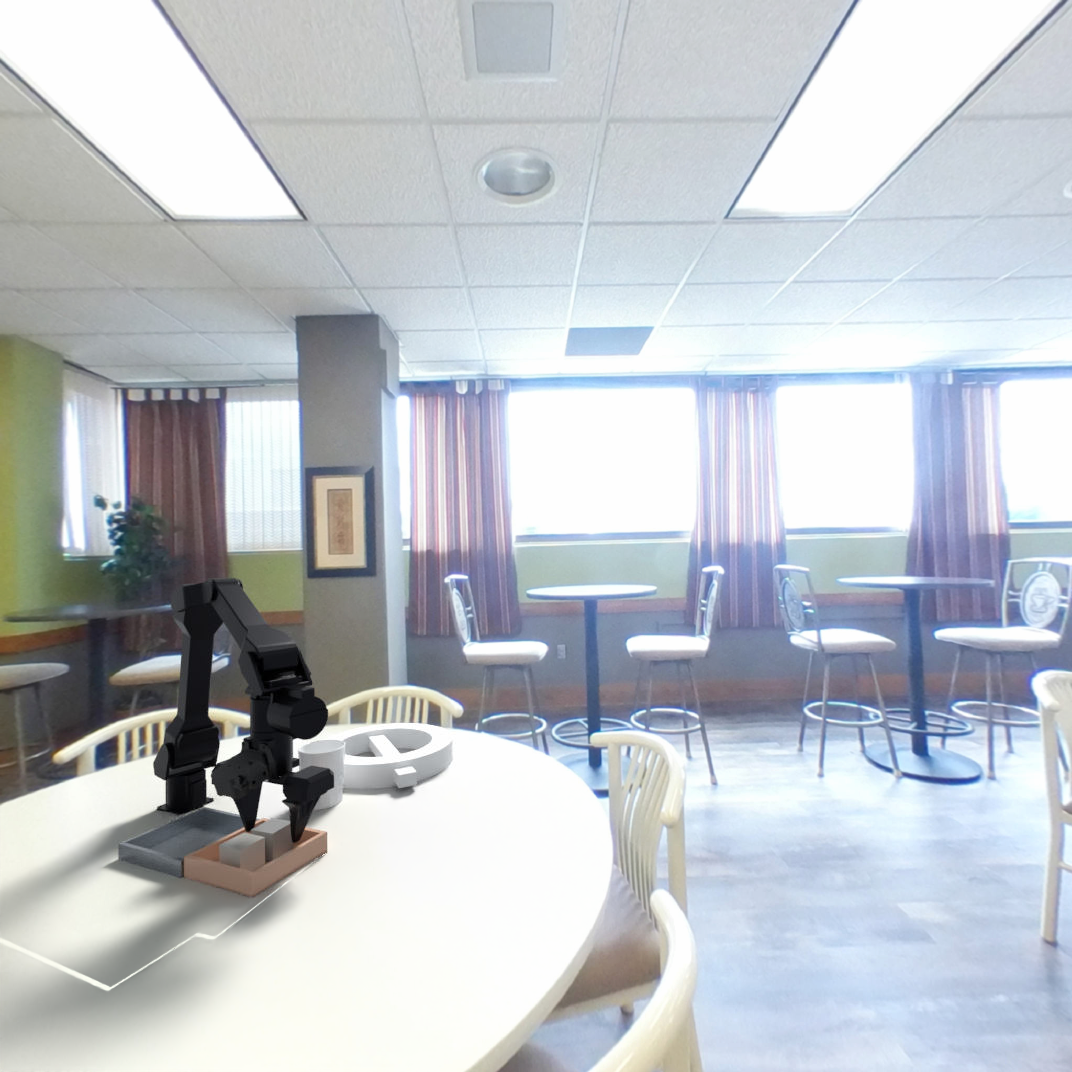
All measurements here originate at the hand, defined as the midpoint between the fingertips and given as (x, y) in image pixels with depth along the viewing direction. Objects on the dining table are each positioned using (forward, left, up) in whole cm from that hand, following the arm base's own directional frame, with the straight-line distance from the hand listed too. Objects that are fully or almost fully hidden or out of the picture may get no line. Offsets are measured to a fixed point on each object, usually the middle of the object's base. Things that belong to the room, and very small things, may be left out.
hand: (272, 836), depth 87 cm
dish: (0, -2, -3) cm, 4 cm away
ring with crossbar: (-10, +39, -4) cm, 40 cm away
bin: (-13, -2, -3) cm, 14 cm away
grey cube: (0, 0, -2) cm, 2 cm away
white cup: (-7, +18, -3) cm, 19 cm away
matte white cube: (0, -5, -2) cm, 6 cm away
